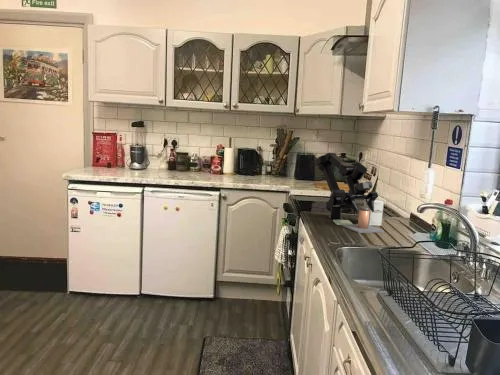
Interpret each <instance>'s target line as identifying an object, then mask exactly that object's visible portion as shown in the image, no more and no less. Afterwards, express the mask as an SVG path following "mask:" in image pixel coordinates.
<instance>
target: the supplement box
mask: <svg viewBox="0 0 500 375" xmlns="http://www.w3.org/2000/svg"><path fill="white" fill-rule="evenodd" d="M366 203H367V202H366V200H365V199H363V207H369V206H368V205H367V204H366ZM384 205H385V201H382V200H379V199H376V200H375V201H374V212H372V211H371V209H370V210H369V222H368V225H371V226H373V227H375V226H379V227H380V226H382V222H383V214H384Z"/></svg>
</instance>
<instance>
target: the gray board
mask: <svg viewBox="0 0 500 375" xmlns="http://www.w3.org/2000/svg"><path fill="white" fill-rule="evenodd" d="M342 227H343V228H345V229H348V230H350V231H352V232H355V233H357V234H367V233H368V234H369V233H370V234H371V233H384V232H385V230H384V229H381V228H379V227H375V226H374V225H368V228H367V229H362V228H358V223H356V224H354V223H353V224H352V225H342Z"/></svg>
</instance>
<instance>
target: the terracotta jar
mask: <svg viewBox="0 0 500 375" xmlns="http://www.w3.org/2000/svg"><path fill="white" fill-rule="evenodd" d="M358 208H359V209H358V221H357V224H358V228H362V229H367V228H368V222H369V210H370V208H369V207H364V205H363V206H359V207H358Z"/></svg>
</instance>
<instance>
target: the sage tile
mask: <svg viewBox="0 0 500 375" xmlns="http://www.w3.org/2000/svg"><path fill="white" fill-rule="evenodd" d="M332 222H333V223H335V225H338V226H343V225H354V223H352V222H351V220H348V219H343V220H339V219H332Z"/></svg>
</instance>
